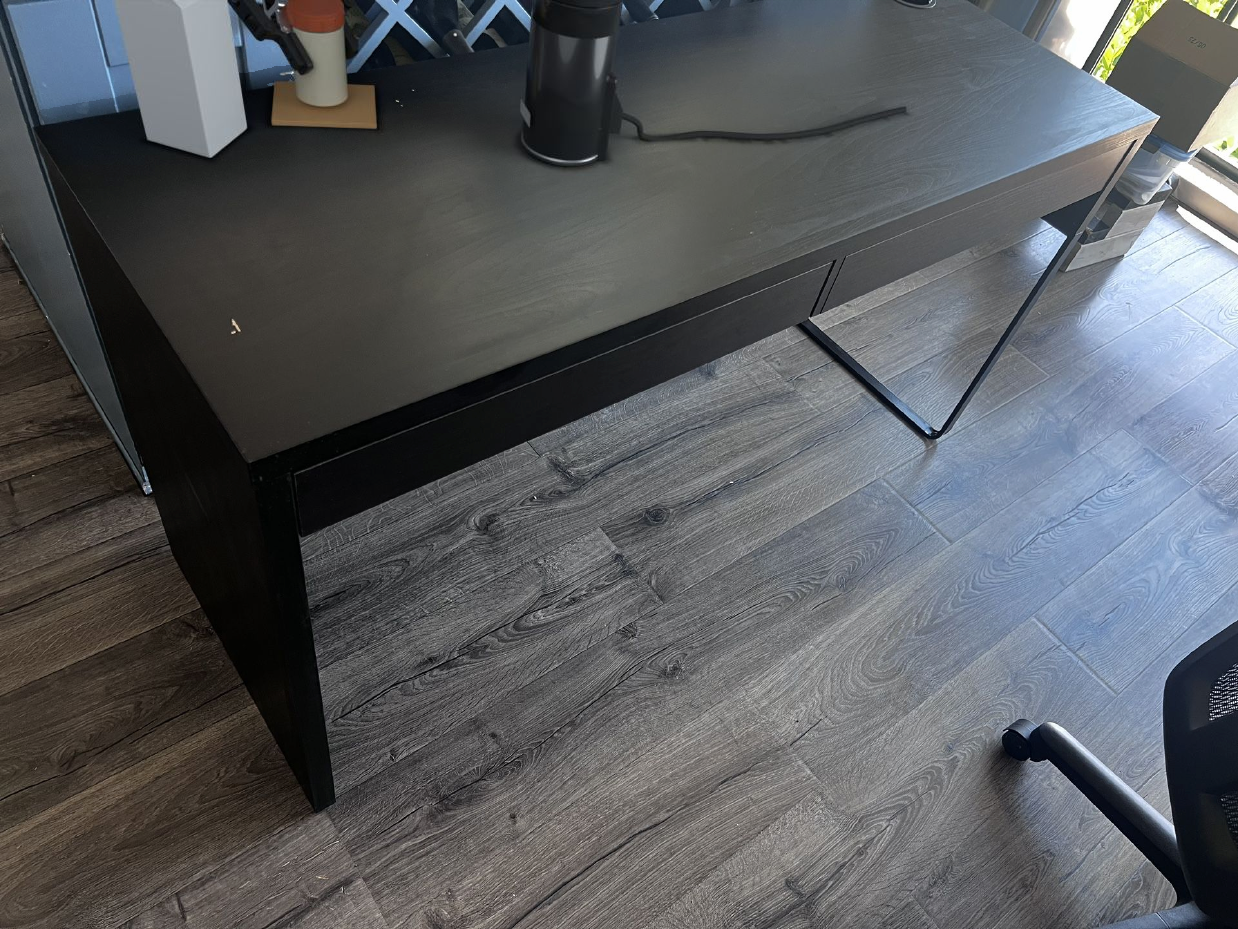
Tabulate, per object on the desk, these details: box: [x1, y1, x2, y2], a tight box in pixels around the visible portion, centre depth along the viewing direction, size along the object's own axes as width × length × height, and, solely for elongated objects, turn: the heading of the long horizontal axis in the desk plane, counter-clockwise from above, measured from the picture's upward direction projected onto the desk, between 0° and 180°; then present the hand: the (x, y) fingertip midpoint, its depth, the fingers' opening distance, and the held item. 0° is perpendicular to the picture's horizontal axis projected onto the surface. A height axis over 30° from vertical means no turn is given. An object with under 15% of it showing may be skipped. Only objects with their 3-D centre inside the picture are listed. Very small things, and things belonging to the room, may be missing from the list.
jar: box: [291, 25, 348, 106], centre depth 102 cm, size 6×6×9 cm
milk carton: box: [113, 0, 248, 158], centre depth 91 cm, size 7×7×19 cm
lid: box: [286, 0, 346, 32], centre depth 98 cm, size 6×6×2 cm
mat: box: [271, 80, 378, 130], centre depth 106 cm, size 11×9×1 cm
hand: (330, 63), depth 101 cm, fingers closed on jar, 5 cm apart
